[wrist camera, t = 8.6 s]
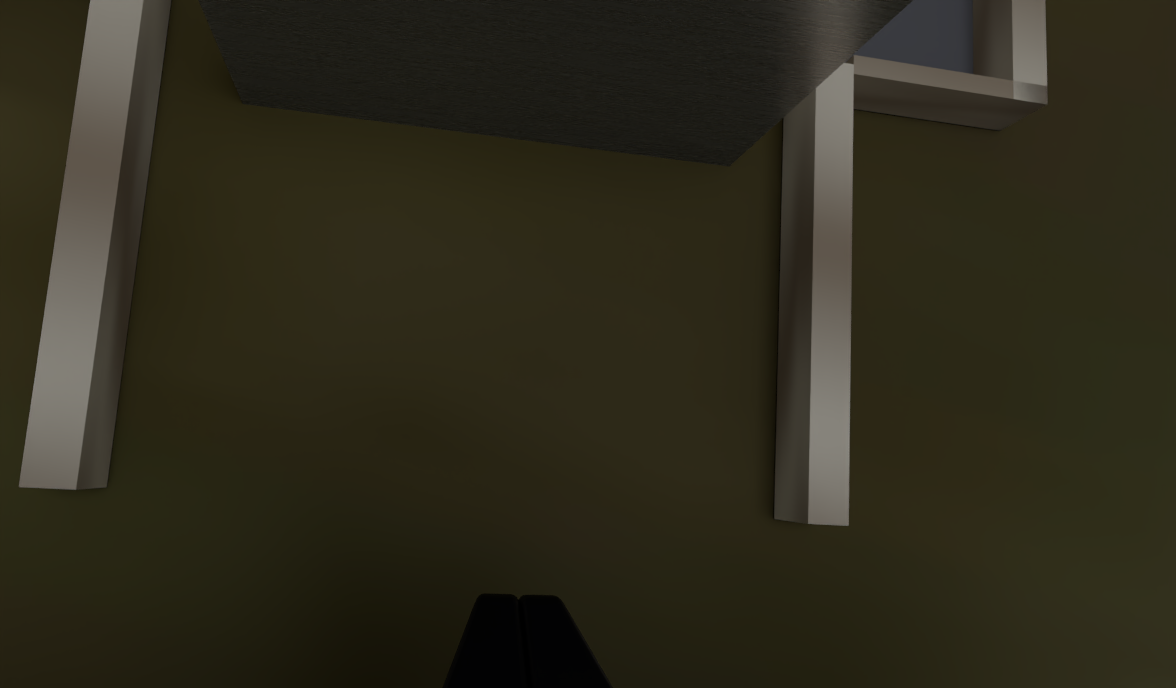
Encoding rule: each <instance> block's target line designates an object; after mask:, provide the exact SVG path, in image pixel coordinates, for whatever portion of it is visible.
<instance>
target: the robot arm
mask: <svg viewBox="0 0 1176 688" xmlns="http://www.w3.org/2000/svg"><path fill="white" fill-rule="evenodd" d="M443 688H613V687H612V685H611V684H610V682H609V680H608V679H607V677H606V675H605V673H604V672H603V670H602V668H601V667H600V665H599V663H598V661H597V660H596V658H595V656H594V655H593V653H592V651H591V649H590V648H589V646H588V644H587V642H586V641H585V639H584V637H583V636H582V634H581V632H580V630H579V629H578V627H577V625H576V624H575V622H574V620H573V618H572V617H571V615H570V613H569V612H568V610H567V608H566V606H565V605H564V603H563V602H562V601H561V599H559V598H558V597H556V596H553V595H523V596H521V597H520V599H519V600H518V599H517V597H516V596H514V595H512V594H481V595H479V597H478V598H477V599H476V602H475V604H474V607H473V609H472V612H471V614H470V617H469V620H468V622H467V625H466V628H465V630H464V633H463V635H462V638H461V641H460V643H459V646H458V649H457V651H456V654H455V656H454V659H453V662H452V664H451V667H450V670H449V672H448V675H447V677H446V680H445V683H444V685H443Z"/></svg>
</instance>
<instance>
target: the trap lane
mask: <svg viewBox="0 0 1176 688" xmlns="http://www.w3.org/2000/svg"><path fill="white" fill-rule="evenodd" d="M170 7H171V0H90V6H89V13H88V20H87V27H86V34H85V40H84V47H83V54H82V61H81V68H80V74H79V81H78V88H77V95H76V102H75V108H74V115H73V122H72V129H71V136H70V142H69V149H68V156H67V163H66V169H65V176H64V183H63V190H62V197H61V203H60V210H59V217H58V224H57V231H56V237H55V244H54V251H53V258H52V265H51V271H50V278H49V285H48V292H47V299H46V305H45V312H44V319H43V326H42V333H41V339H40V346H39V353H38V360H37V367H36V373H35V380H34V387H33V394H32V401H31V407H30V414H29V421H28V428H27V435H26V441H25V448H24V455H23V462H22V469H21V475H20V482H19V487H30V488H51V489H73V490H78V489H91V488H104V487H107V482H108V474H109V466H110V459H111V451H112V444H113V436H114V429H115V421H116V414H117V406H118V399H119V391H120V384H121V376H122V369H123V361H124V353H125V346H126V338H127V331H128V323H129V316H130V308H131V301H132V293H133V286H134V278H135V271H136V263H137V256H138V248H139V240H140V233H141V225H142V218H143V210H144V203H145V195H146V188H147V180H148V173H149V165H150V158H151V150H152V142H153V135H154V127H155V120H156V112H157V105H158V97H159V90H160V82H161V75H162V67H163V60H164V52H165V45H166V37H167V29H168V22H169V14H170ZM1045 105H1047V60H1046V15H1045V0H913V1H912V2H911V3H910V4H908V5H907V6H906V7H905V8H904V9H903V10H902V11H901V12H900V13H899V14H897V15H896V16H895V17H894V18H893V19H892V20H891V21H890V22H889V23H887V24H886V25H885V26H884V27H883V28H882V29H881V30H880V31H879V32H877V33H876V34H875V35H874V36H873V37H872V38H871V39H870V40H869V41H868V42H866V43H865V44H864V45H863V46H862V47H861V48H860V49H859V50H858V51H856V52H855V53H854V54H853V55H852V56H851V57H850V58H849V59H848V60H846V61H845V62H844V63H843V64H842V65H841V66H840V67H839V68H838V69H837V70H835V71H834V72H833V73H832V74H831V75H830V76H829V77H828V78H827V79H825V80H824V81H823V82H822V83H821V84H820V85H819V86H818V87H817V88H815V89H814V90H813V91H812V92H811V93H810V94H809V95H808V96H807V97H806V98H804V99H803V100H802V101H801V102H800V103H799V104H798V105H797V106H796V107H794V108H793V109H792V110H791V111H790V112H789V113H788V114H787V115H786V116H784V121H783V163H782V206H781V248H780V291H779V333H778V376H777V419H776V461H775V504H774V519H778V520H785V521H792V522H799V523H806V524H823V525H845V526H849V441H850V353H851V265H852V177H853V109H858V110H864V111H871V112H878V113H885V114H891V115H898V116H905V117H911V118H918V119H925V120H932V121H938V122H945V123H952V124H958V125H965V126H972V127H979V128H985V129H992V130H999V131H1000V130H1002V129H1004V128H1006V127H1008V126H1009V125H1011V124H1013V123H1015V122H1017V121H1018V120H1020V119H1022V118H1024V117H1026V116H1027V115H1029V114H1031V113H1033V112H1035V111H1036V110H1038V109H1040V108H1042V107H1044V106H1045Z"/></svg>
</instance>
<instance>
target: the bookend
mask: <svg viewBox="0 0 1176 688" xmlns="http://www.w3.org/2000/svg"><path fill="white" fill-rule="evenodd" d="M198 1H199V3H200V5H201V8H202V10H203V12H204V15H205V17H206V19H207V22H208V24H209V26H210V29H211V31H212V33H213V36H214V38H215V40H216V43H217V45H218V47H219V50H220V52H221V54H222V57H223V59H224V61H225V64H226V66H227V68H228V71H229V73H230V75H231V78H232V80H233V82H234V85H235V87H236V89H237V92H238V94H239V96H240V99H241V101H242V103H243V104H247V105H255V106H263V107H271V108H279V109H286V110H294V111H302V112H310V113H317V114H325V115H333V116H341V117H349V118H356V119H364V120H372V121H380V122H387V123H395V124H403V125H411V126H419V127H426V128H434V129H442V130H450V131H458V132H465V133H473V134H481V135H489V136H496V137H504V138H512V139H520V140H528V141H535V142H543V143H551V144H559V145H566V146H574V147H582V148H590V149H598V150H605V151H613V152H621V153H629V154H637V155H644V156H652V157H660V158H668V159H675V160H683V161H691V162H699V163H707V164H714V165H722V166H730V165H731V164H732V163H734V162H735V161H736V160H737V159H738V158H739V157H740V156H741V155H742V154H743V153H745V152H746V151H747V150H748V149H749V148H750V147H751V146H752V145H753V144H755V143H756V142H757V141H758V140H759V139H760V138H761V137H762V136H763V135H765V134H766V133H767V132H768V131H769V130H770V129H771V128H772V127H773V126H775V125H776V124H777V123H778V122H779V121H780V120H781V119H782V118H783V117H784V116H786V115H787V114H788V113H789V112H790V111H791V110H792V109H793V108H794V107H796V106H797V105H798V104H799V103H800V102H801V101H802V100H803V99H804V98H806V97H807V96H808V95H809V94H810V93H811V92H812V91H813V90H814V89H815V88H817V87H818V86H819V85H820V84H821V83H822V82H823V81H824V80H825V79H827V78H828V77H829V76H830V75H831V74H832V73H833V72H834V71H835V70H837V69H838V68H839V67H840V66H841V65H842V64H843V63H844V62H845V61H846V60H848V59H849V58H850V57H851V56H852V55H853V54H854V53H855V52H856V51H858V50H859V49H860V48H861V47H862V46H863V45H864V44H865V43H866V42H868V41H869V40H870V39H871V38H872V37H873V36H874V35H875V34H876V33H877V32H879V31H880V30H881V29H882V28H883V27H884V26H885V25H886V24H887V23H889V22H890V21H891V20H892V19H893V18H894V17H895V16H896V15H897V14H899V13H900V12H901V11H902V10H903V9H904V8H905V7H906V6H907V5H908V4H910V3H911V2H912V1H913V0H198Z"/></svg>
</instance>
